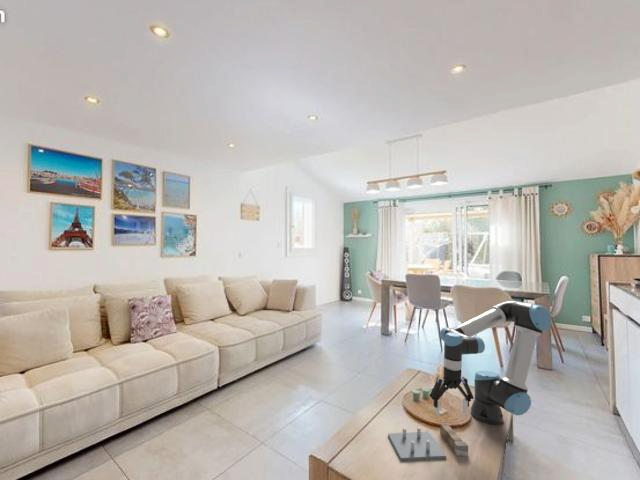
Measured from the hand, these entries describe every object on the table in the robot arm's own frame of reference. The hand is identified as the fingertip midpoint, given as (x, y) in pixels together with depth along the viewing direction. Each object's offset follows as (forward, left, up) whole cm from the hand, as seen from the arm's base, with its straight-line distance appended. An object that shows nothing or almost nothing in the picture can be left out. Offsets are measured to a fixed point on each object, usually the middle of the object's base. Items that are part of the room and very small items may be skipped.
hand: (451, 413), depth 135 cm
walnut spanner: (0, +1, -13) cm, 13 cm away
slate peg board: (+18, +2, -13) cm, 22 cm away
